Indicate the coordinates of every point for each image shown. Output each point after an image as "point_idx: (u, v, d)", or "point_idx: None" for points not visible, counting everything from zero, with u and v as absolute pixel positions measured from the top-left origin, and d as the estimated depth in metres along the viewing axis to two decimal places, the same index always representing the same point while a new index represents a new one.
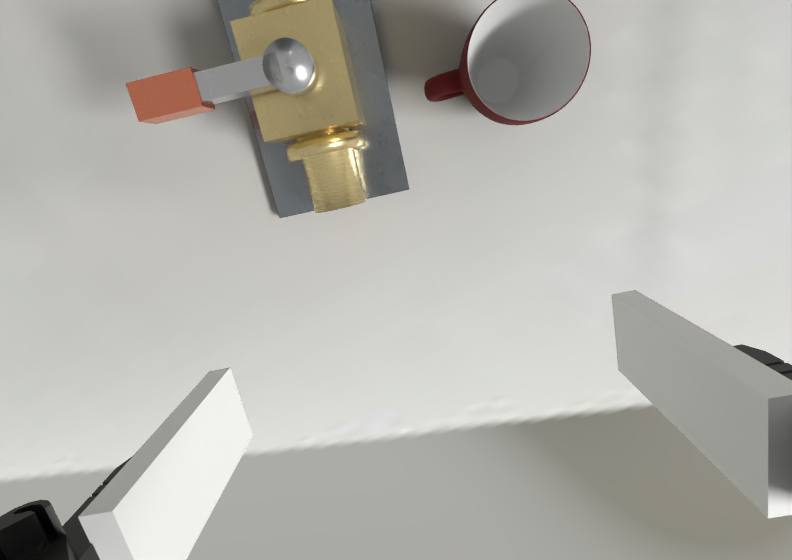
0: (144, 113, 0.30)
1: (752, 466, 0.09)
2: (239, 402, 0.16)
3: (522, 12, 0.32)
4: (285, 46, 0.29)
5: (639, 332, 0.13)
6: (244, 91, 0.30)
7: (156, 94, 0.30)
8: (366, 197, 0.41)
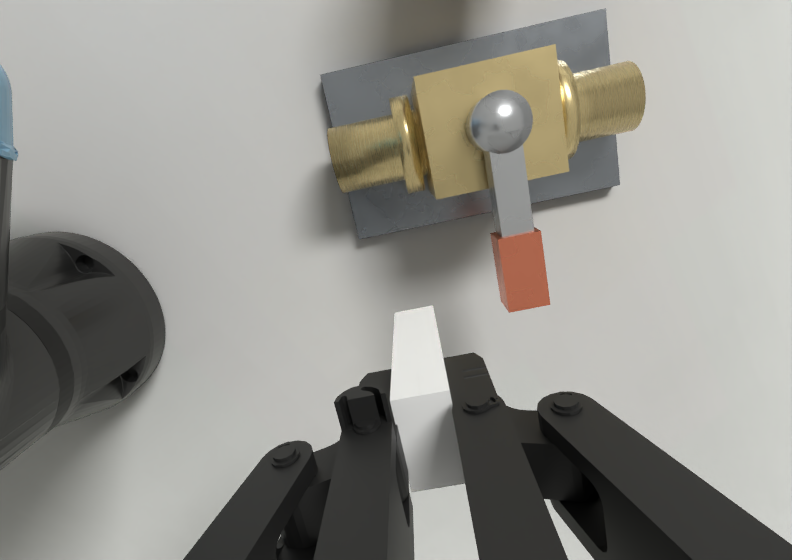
0: (542, 297, 0.26)
1: None
2: None
3: None
4: (481, 122, 0.24)
5: None
6: (526, 179, 0.25)
7: (523, 281, 0.26)
8: None
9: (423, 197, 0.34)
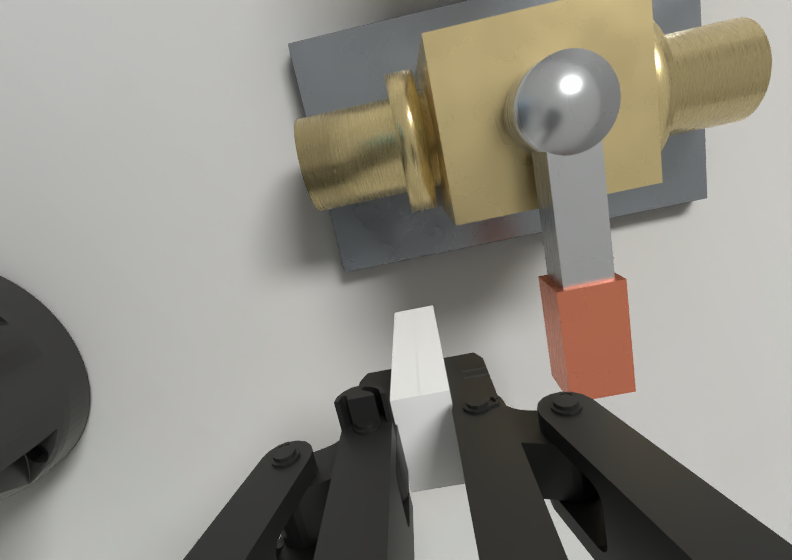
0: (624, 380, 0.17)
1: None
2: None
3: None
4: (535, 104, 0.14)
5: None
6: (605, 197, 0.15)
7: (595, 356, 0.16)
8: None
9: (434, 215, 0.25)
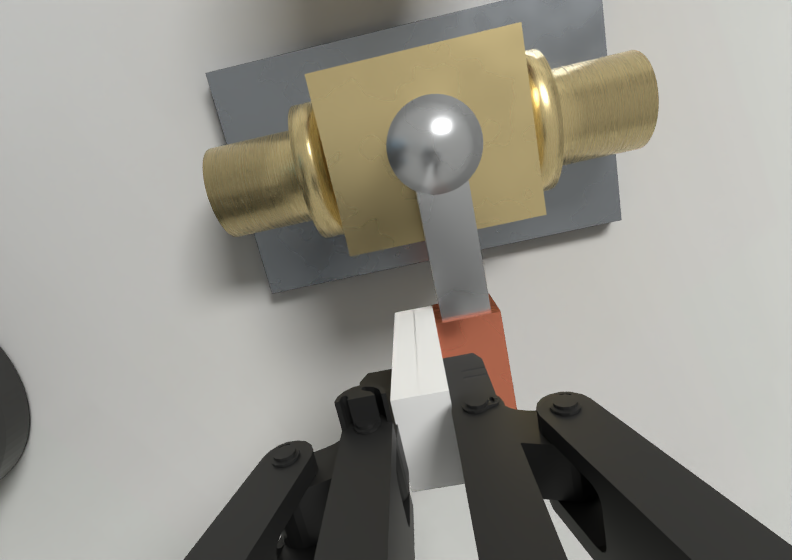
0: None
1: None
2: None
3: None
4: (401, 146, 0.15)
5: None
6: (476, 233, 0.16)
7: None
8: None
9: None
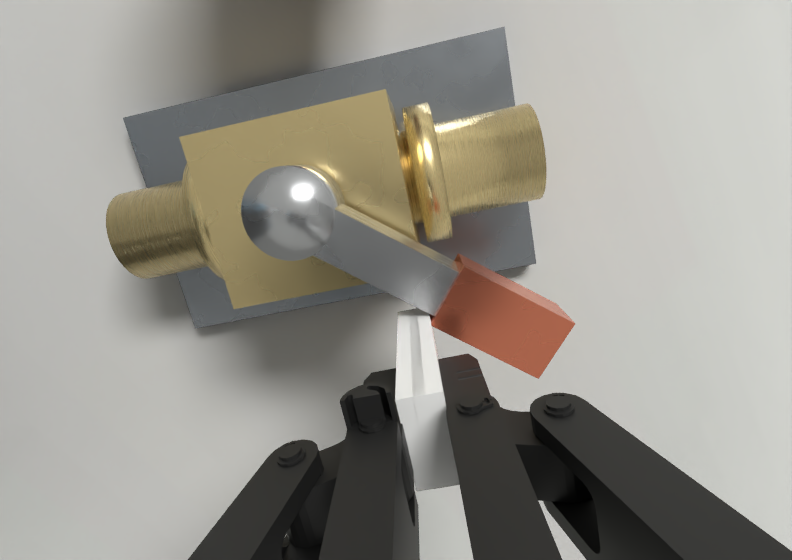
0: (555, 326, 0.16)
1: None
2: None
3: None
4: (270, 239, 0.16)
5: None
6: (384, 234, 0.16)
7: (512, 333, 0.16)
8: None
9: None
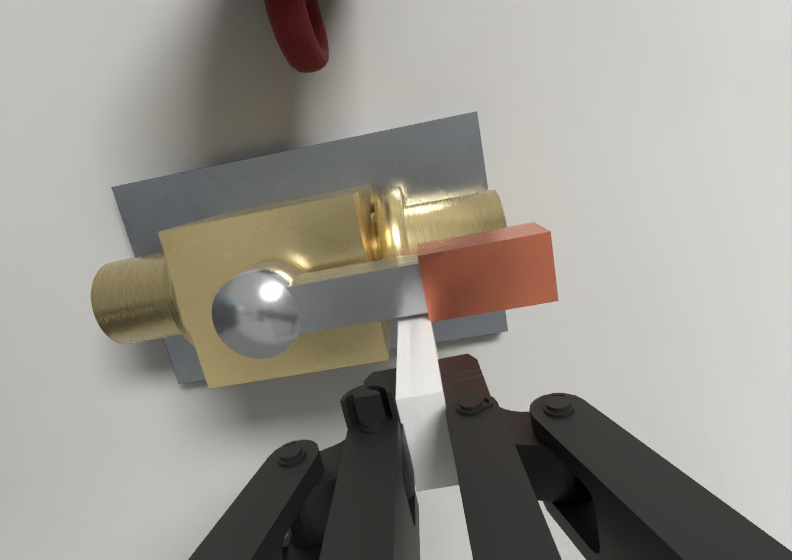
0: (535, 246, 0.15)
1: None
2: None
3: None
4: (258, 345, 0.17)
5: None
6: (337, 277, 0.16)
7: (503, 279, 0.15)
8: (485, 188, 0.24)
9: None
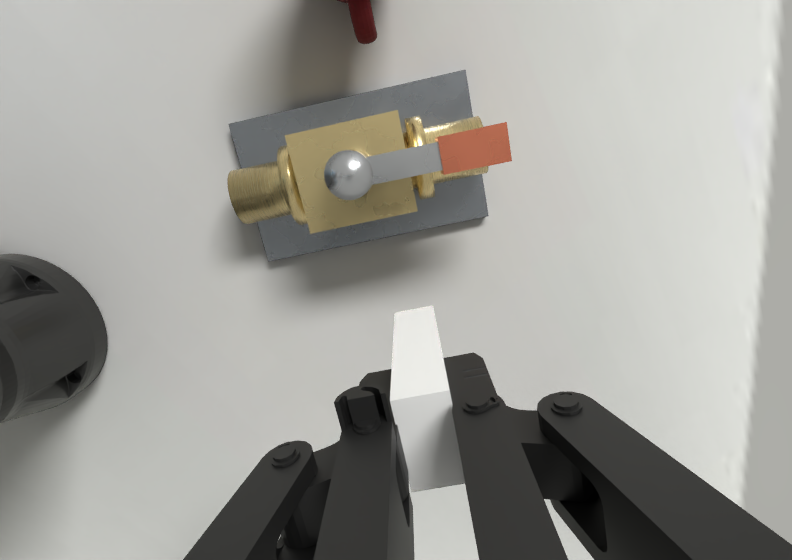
0: (498, 130, 0.29)
1: None
2: None
3: None
4: (349, 192, 0.30)
5: None
6: (393, 151, 0.29)
7: (482, 149, 0.29)
8: None
9: None
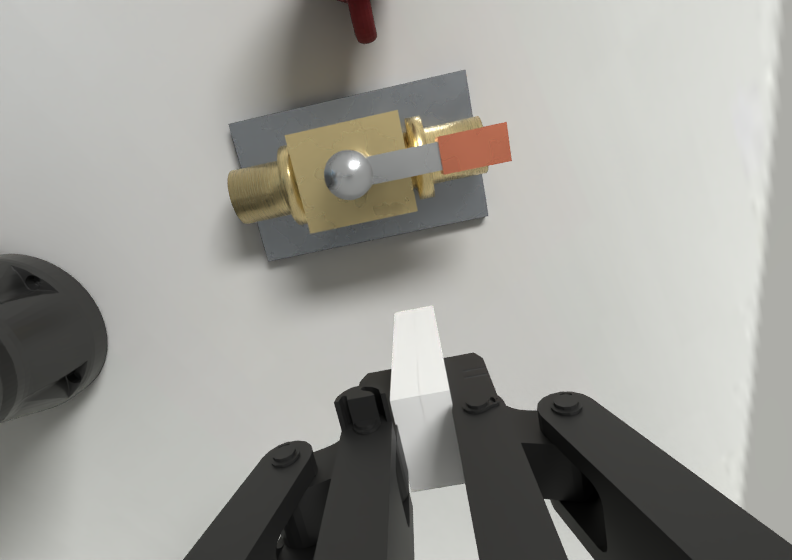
0: (498, 130, 0.29)
1: None
2: None
3: None
4: (349, 192, 0.30)
5: None
6: (393, 151, 0.29)
7: (482, 149, 0.29)
8: None
9: None
